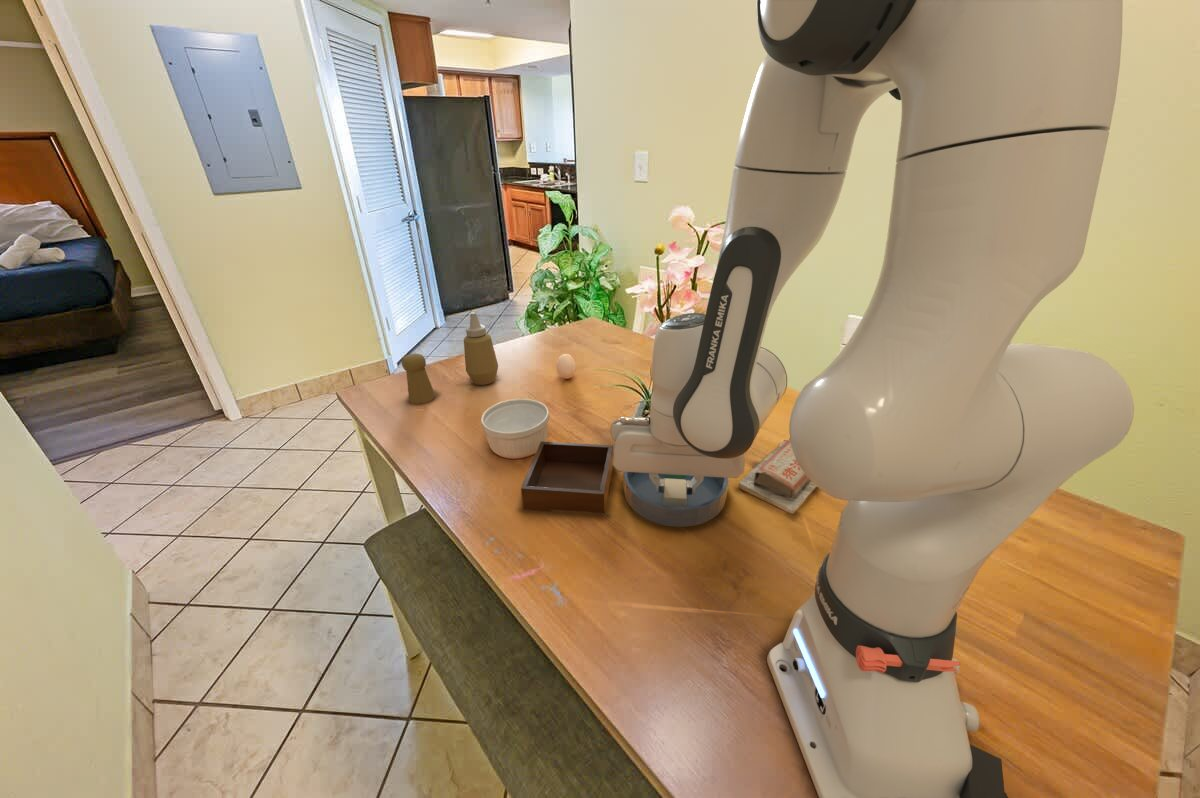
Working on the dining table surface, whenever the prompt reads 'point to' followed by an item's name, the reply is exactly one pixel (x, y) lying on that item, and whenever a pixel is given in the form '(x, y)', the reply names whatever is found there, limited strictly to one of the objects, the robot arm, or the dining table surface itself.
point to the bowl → (696, 511)
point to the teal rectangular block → (674, 476)
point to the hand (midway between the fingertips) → (675, 491)
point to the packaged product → (779, 480)
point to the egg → (566, 366)
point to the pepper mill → (417, 379)
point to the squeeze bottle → (479, 353)
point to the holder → (568, 478)
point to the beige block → (675, 493)
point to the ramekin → (516, 427)
